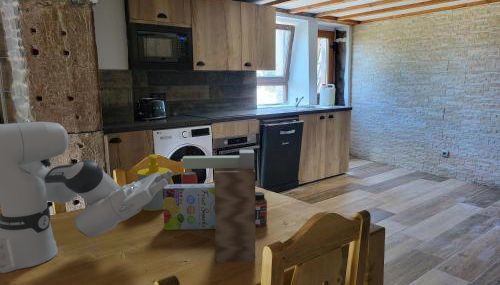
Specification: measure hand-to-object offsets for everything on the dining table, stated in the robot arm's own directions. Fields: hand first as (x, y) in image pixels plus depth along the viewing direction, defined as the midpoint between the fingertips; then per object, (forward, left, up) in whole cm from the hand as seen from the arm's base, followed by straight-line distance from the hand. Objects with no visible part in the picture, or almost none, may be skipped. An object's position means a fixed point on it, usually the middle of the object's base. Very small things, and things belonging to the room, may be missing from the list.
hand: (169, 176), depth 103 cm
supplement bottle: (+21, +27, -23) cm, 41 cm away
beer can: (-13, +47, -23) cm, 54 cm away
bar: (+14, +3, +3) cm, 14 cm away
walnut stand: (+18, +4, -23) cm, 30 cm away
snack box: (0, +20, -24) cm, 31 cm away
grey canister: (-24, +37, -23) cm, 50 cm away
